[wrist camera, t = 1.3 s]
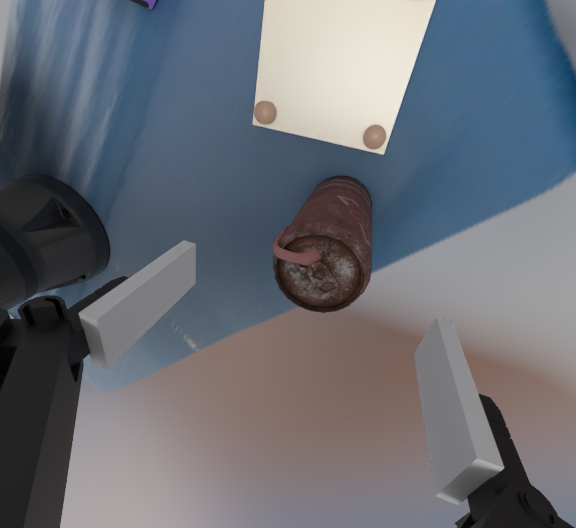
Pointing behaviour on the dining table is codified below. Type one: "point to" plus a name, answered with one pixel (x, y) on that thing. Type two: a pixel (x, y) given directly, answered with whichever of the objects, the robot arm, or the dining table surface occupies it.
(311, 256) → the can
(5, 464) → the robot arm
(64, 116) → the dining table surface
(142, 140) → the dining table surface
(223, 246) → the dining table surface
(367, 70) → the stud plate
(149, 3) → the candy box
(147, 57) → the dining table surface
